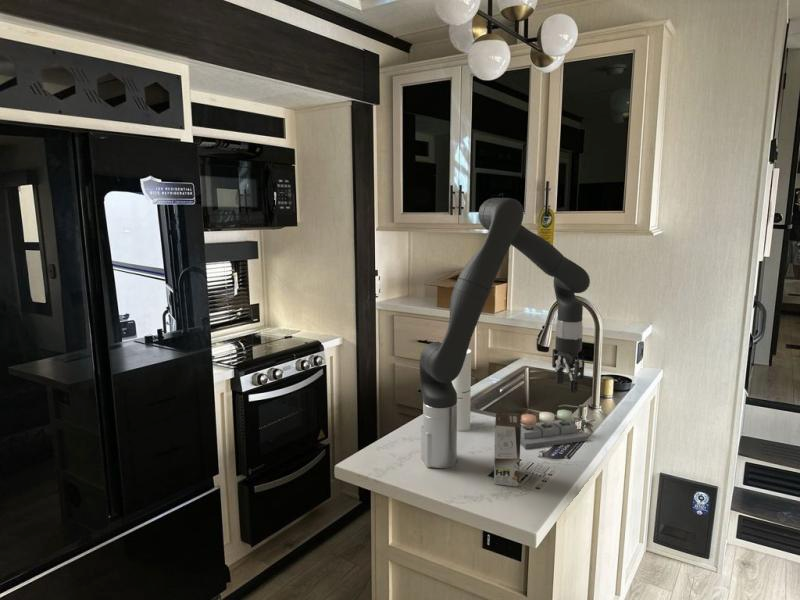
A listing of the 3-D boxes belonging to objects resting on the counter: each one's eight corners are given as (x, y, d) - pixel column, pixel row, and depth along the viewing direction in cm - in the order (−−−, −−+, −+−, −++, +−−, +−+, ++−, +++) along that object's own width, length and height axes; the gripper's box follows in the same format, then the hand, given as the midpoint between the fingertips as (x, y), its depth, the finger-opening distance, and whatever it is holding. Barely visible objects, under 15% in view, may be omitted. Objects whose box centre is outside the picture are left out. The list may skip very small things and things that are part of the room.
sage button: (561, 427, 165) (562, 416, 164) (554, 421, 169) (554, 410, 168) (574, 425, 166) (575, 414, 165) (566, 419, 170) (567, 409, 169)
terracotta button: (525, 431, 162) (525, 420, 161) (518, 425, 166) (518, 414, 165) (538, 429, 163) (539, 418, 162) (531, 424, 167) (532, 413, 166)
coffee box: (519, 487, 138) (521, 427, 135) (493, 484, 139) (494, 425, 136) (518, 469, 147) (520, 412, 144) (494, 467, 148) (495, 411, 145)
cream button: (543, 429, 163) (544, 418, 163) (536, 423, 167) (536, 412, 167) (556, 427, 164) (557, 416, 164) (549, 421, 168) (549, 411, 168)
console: (525, 449, 158) (525, 438, 158) (507, 431, 170) (507, 421, 169) (586, 440, 163) (587, 430, 163) (565, 424, 175) (565, 414, 174)
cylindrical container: (474, 428, 172) (475, 352, 167) (453, 432, 170) (454, 355, 165) (463, 420, 179) (464, 346, 174) (443, 423, 176) (444, 349, 171)
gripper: (545, 329, 168) (543, 381, 171) (570, 342, 154) (568, 397, 157) (567, 328, 169) (565, 378, 173) (594, 339, 156) (591, 394, 159)
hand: (566, 387), depth 165 cm, fingers open, 7 cm apart
